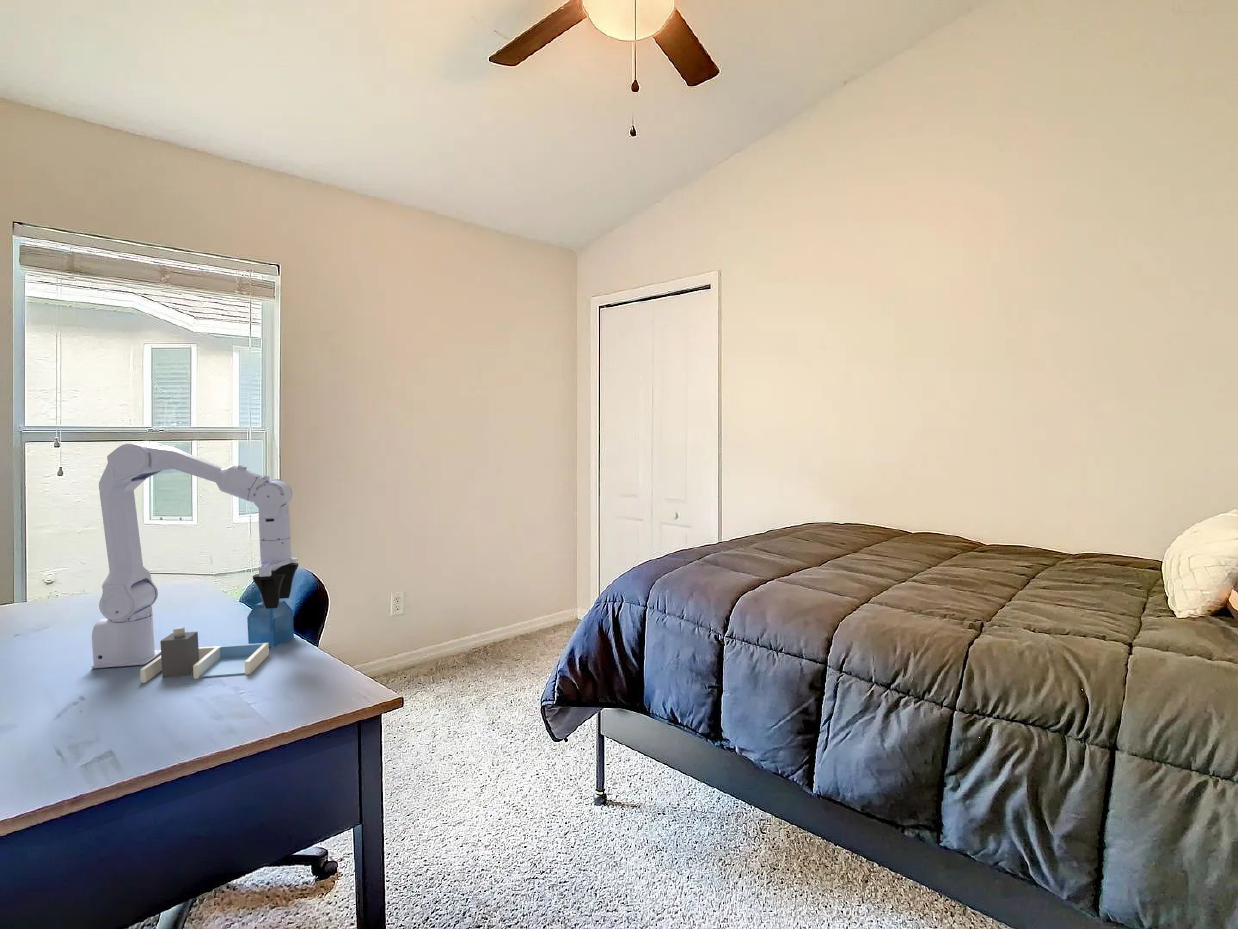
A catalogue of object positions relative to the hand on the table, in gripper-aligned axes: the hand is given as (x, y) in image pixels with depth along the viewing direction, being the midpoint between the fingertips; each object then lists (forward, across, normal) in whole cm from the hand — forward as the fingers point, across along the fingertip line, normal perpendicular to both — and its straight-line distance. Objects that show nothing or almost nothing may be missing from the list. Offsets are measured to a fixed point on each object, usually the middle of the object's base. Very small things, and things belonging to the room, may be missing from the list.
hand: (277, 603), depth 135 cm
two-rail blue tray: (+10, -9, +11) cm, 17 cm away
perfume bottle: (+10, +6, +4) cm, 13 cm away
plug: (+10, -9, +15) cm, 20 cm away
